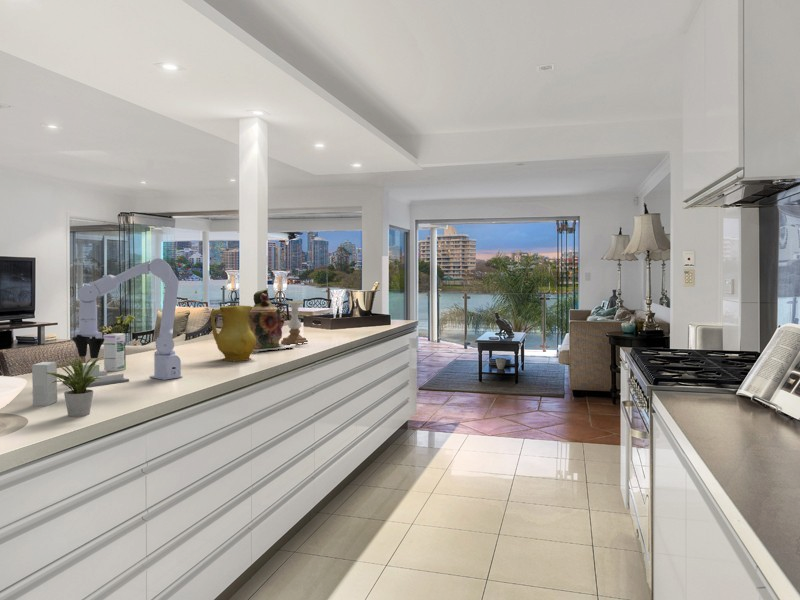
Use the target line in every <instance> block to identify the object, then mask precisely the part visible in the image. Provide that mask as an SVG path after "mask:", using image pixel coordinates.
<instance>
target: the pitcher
mask: <svg viewBox="0 0 800 600" xmlns="http://www.w3.org/2000/svg"><path fill="white" fill-rule="evenodd" d="M252 308H253V306H251V305H231V306H230V305H226V306H222V305H221V306H220V307H219V308H214V309H213V310H212V311H211V314H210V321H211V323H210V324H211V325H210V326H211V328H212V330H211V331H212V336H213V339H214V341H215V344H216V346H217V350H219V352H220V353H222V354H223V356H224V358H222V360H223V361H226V362H242V361H250V360H251V358H250V356H251V355H252V354H253V353H255V352H254V351H253V349H254V347H255V346H256V338H255V336H254V334H253V332H252V331H251V329H250V327H249V324H248V315H249V312H250V311H251V309H252ZM217 314H220V315H221V316H222V320H223V321H222V327H221V329H220V331H219V333H218V331H217V327H216V323H215V316H216V315H217ZM249 359H250V360H249Z"/></svg>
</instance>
